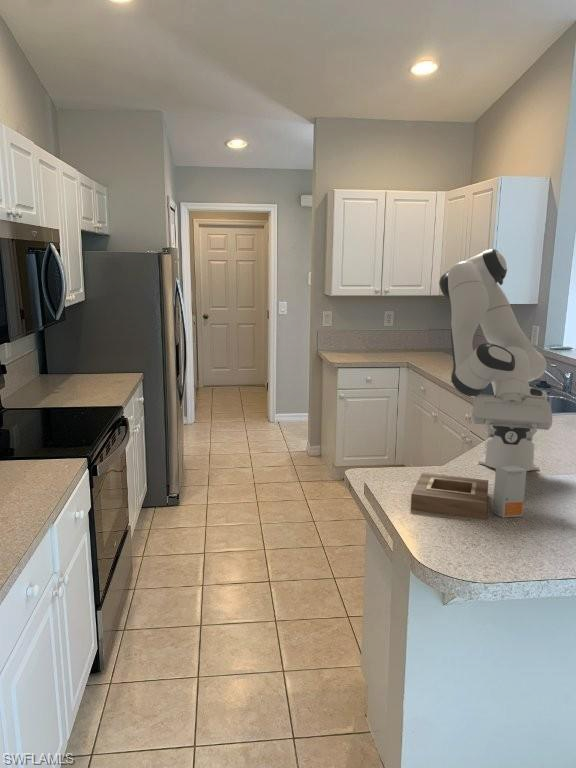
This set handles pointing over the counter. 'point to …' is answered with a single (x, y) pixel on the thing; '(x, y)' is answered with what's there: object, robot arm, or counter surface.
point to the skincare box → (509, 491)
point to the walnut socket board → (451, 495)
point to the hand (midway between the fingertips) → (510, 437)
